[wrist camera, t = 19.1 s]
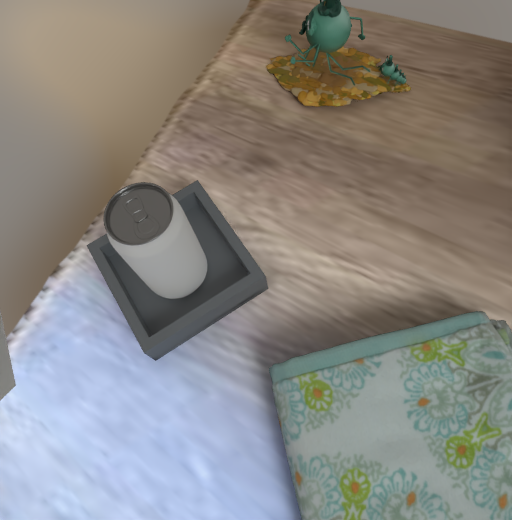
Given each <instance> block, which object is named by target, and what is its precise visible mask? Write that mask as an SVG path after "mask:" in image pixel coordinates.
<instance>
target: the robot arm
mask: <svg viewBox="0 0 512 520" xmlns="http://www.w3.org/2000/svg"><path fill="white" fill-rule="evenodd" d="M15 386H16V384H15V379H14V375H13V370H12V365H11V360H10V355H9V350H8V346H7V341H6V336H5V332H4V326H3V321H2V317H1V312H0V400H1V399H2V398H3V397H4V396H5V395H6V394H7V393H8V392H9V391H10V390H11V389H13V388H14V387H15Z"/></svg>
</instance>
